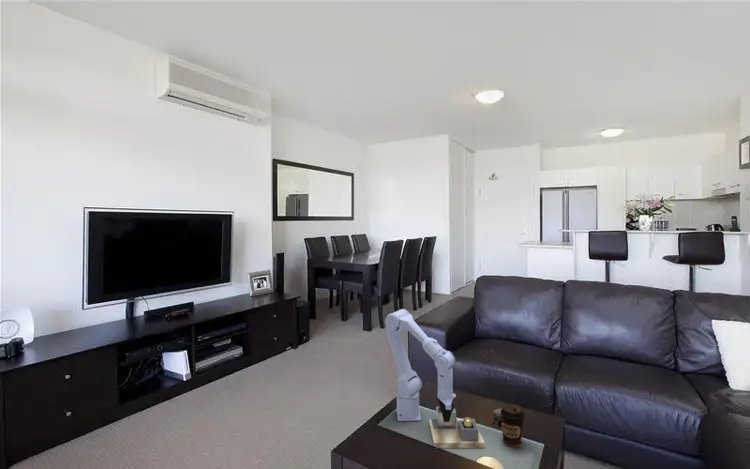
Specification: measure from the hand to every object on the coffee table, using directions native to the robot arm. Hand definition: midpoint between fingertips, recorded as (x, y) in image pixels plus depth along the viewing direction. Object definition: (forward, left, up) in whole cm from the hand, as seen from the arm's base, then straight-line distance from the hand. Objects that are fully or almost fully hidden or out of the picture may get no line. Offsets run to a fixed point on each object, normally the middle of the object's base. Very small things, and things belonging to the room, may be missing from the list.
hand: (445, 417), depth 143 cm
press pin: (+7, -8, 0) cm, 10 cm away
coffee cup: (+23, -9, -5) cm, 25 cm away
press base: (+3, -4, -5) cm, 7 cm away
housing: (0, 0, -2) cm, 2 cm away
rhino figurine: (+25, +5, -5) cm, 26 cm away
